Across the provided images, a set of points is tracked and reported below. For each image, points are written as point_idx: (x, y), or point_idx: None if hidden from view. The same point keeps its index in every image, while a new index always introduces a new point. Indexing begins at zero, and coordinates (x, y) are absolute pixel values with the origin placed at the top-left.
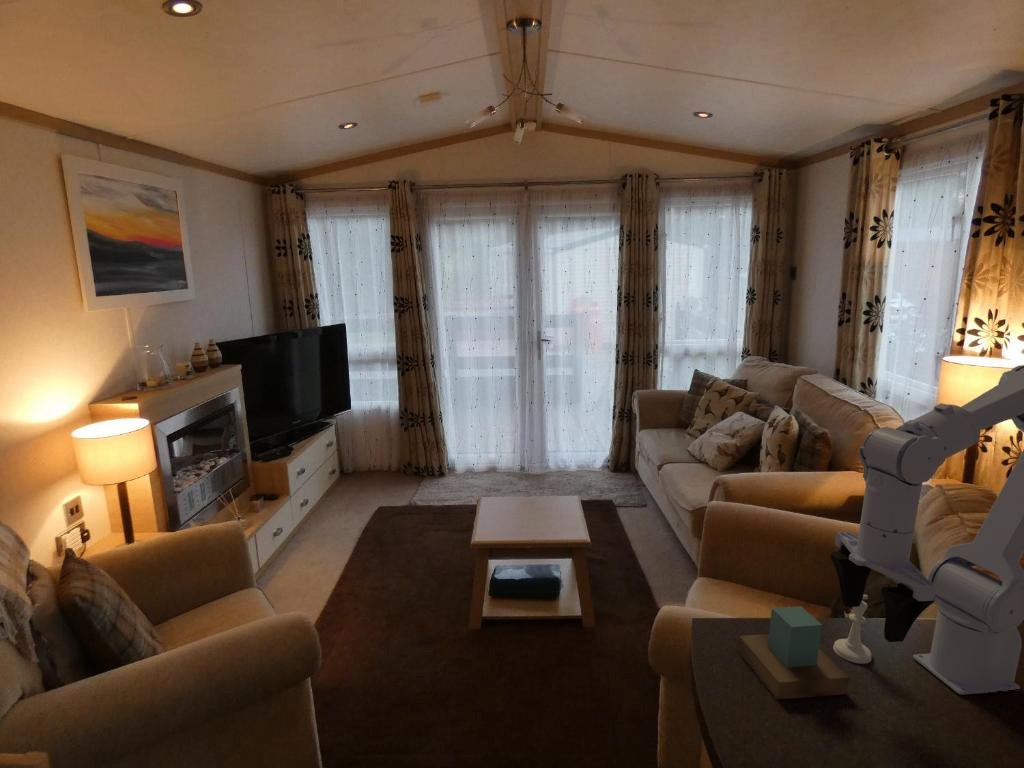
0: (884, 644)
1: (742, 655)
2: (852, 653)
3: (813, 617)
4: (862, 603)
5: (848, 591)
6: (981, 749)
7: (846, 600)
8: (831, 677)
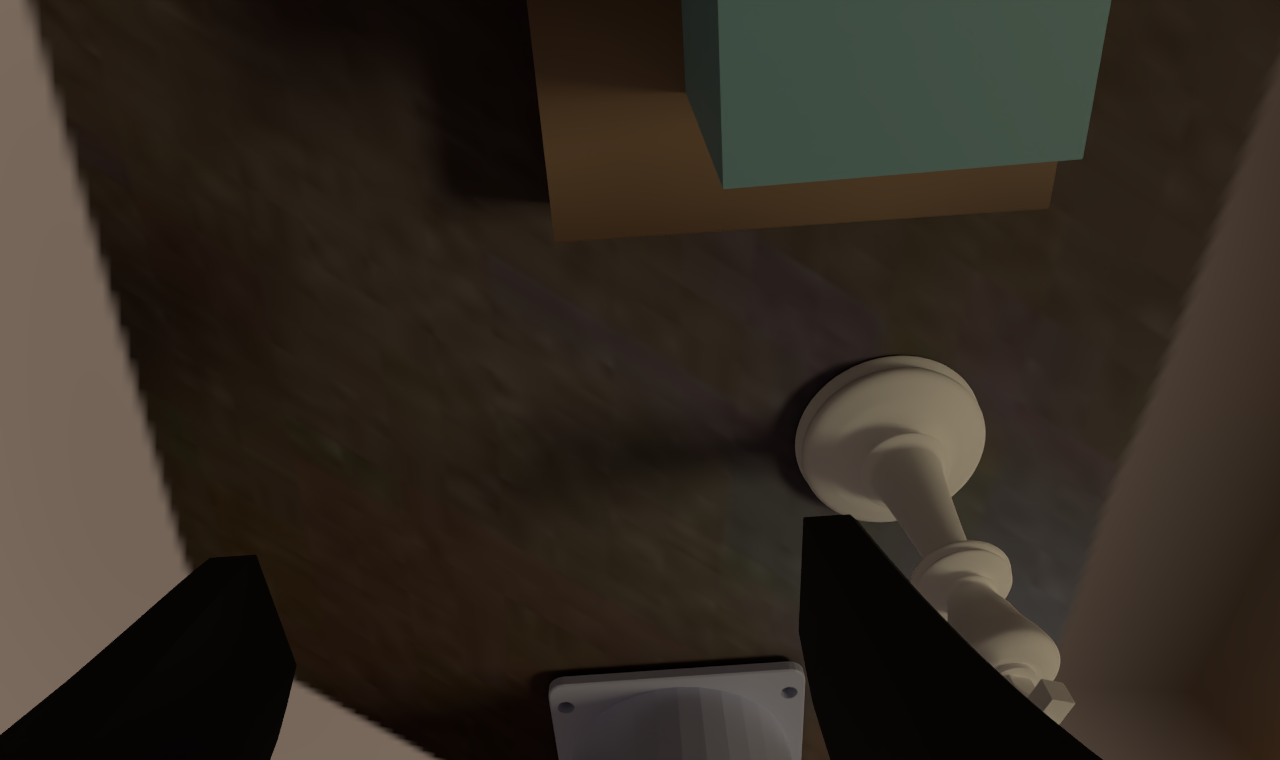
0: None
1: None
2: (845, 422)
3: (861, 171)
4: None
5: (857, 662)
6: None
7: (822, 568)
8: (549, 119)
